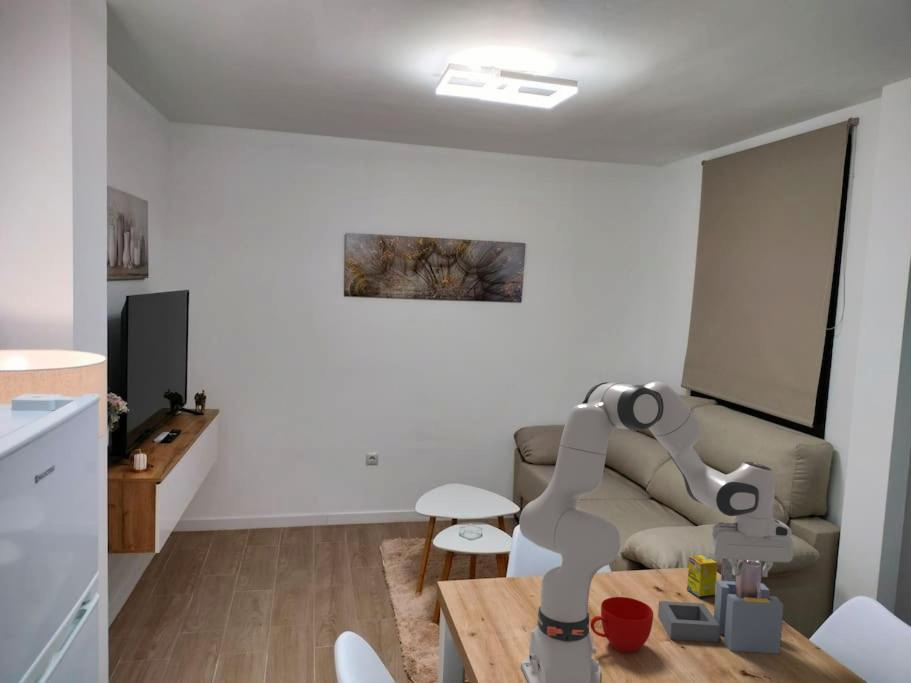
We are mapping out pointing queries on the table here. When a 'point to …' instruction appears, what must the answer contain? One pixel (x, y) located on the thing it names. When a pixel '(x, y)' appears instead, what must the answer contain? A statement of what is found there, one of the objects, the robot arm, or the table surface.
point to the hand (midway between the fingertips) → (749, 575)
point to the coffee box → (727, 571)
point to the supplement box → (702, 576)
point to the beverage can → (748, 579)
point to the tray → (688, 621)
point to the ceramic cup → (625, 623)
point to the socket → (748, 619)
